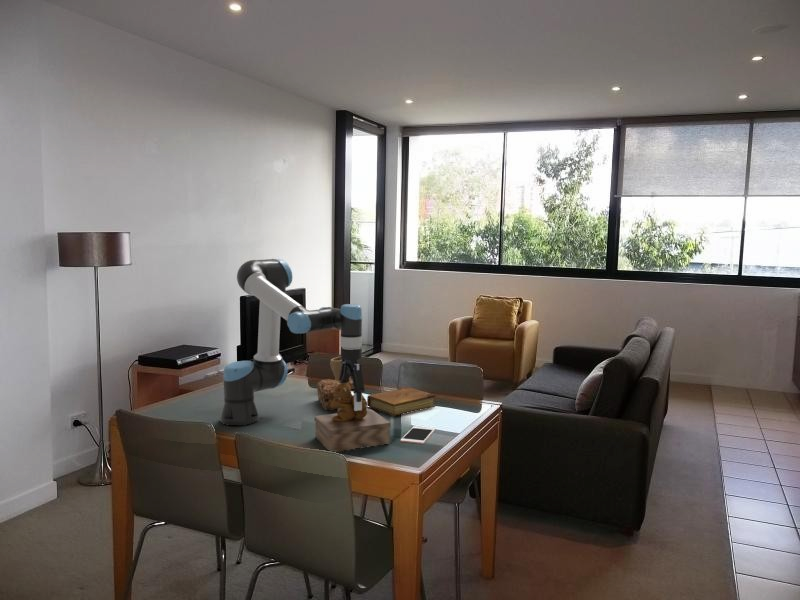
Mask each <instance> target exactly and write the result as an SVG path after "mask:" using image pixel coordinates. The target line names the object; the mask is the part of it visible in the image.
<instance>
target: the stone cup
mask: <svg viewBox="0 0 800 600" xmlns="http://www.w3.org/2000/svg"><path fill="white" fill-rule="evenodd" d="M329 365H330V369H331V370H332V374H333V376H334V380H336V381H338V382H339V383H341V380H339V376H340V371H341V365H342V358H341V355H340V356H337V357H336V356H335V357H333V358H330V362H329ZM349 382H350V383H351V390H355V389H354V385H353V381H352V377H350V378H349ZM349 382H347V383H349ZM341 384H342V383H341Z"/></svg>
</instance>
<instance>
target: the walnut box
mask: <svg viewBox="0 0 800 600" xmlns="http://www.w3.org/2000/svg"><path fill="white" fill-rule="evenodd" d="M366 411H367V412H368V413H367V414H366V416H365V417H364V418H362V419H361V420H354V419H352V420H350V421H345V422H339V421H333V420H332V418H333V417H334V416H338V415H337V412H336V413H330V414H321V415H314V417H313V419H314V422H315V424H314V425H315V438H316V439H317V440H318V441H319V442H320V443H321V445H322V446H323V447H324V448H325V449H326V450H327V451H328V450H330V451H334V452H333V453H339V452H345V451H344V450H347V451H350V450H349V449H353V450H356V449H355V448H360V449H362V448H361V447H367V446H374V447H376V446H375V445H381V446H385V445H384V444H388V445H390V428H391V422H390V421H388V420H387V418H385V417H383V416H382V415H380V414H379V413H377V412H376V411H375V410H373V408H369V409H366ZM367 448H368V447H367Z"/></svg>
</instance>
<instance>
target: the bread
mask: <svg viewBox="0 0 800 600" xmlns="http://www.w3.org/2000/svg"><path fill="white" fill-rule="evenodd" d="M339 384H341V383H339V382H338V381H336V380H335V379H332V378H331V379H330V378H327V379H321V380H320V381H319V382H317V385H316V390H317V391H316V392H317V398H318V401H319V403H320V405H321V404H322V405H321V406H322V408H323V409H324V410H326V411H334V410H338V408H339V407H338V408H331V403H332V402H334V401H333V399H334V398H335V397H339V396H337V395H336V394H334V393H335V387H336V386H338V385H339ZM334 395H335V396H334Z"/></svg>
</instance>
